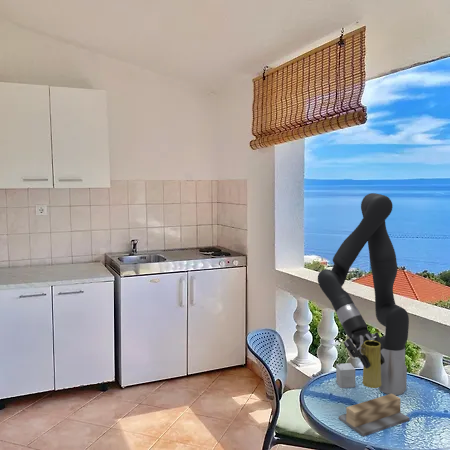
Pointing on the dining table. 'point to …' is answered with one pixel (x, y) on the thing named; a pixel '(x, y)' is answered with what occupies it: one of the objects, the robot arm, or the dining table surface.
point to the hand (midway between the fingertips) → (375, 365)
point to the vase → (372, 364)
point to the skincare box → (345, 375)
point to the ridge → (374, 415)
